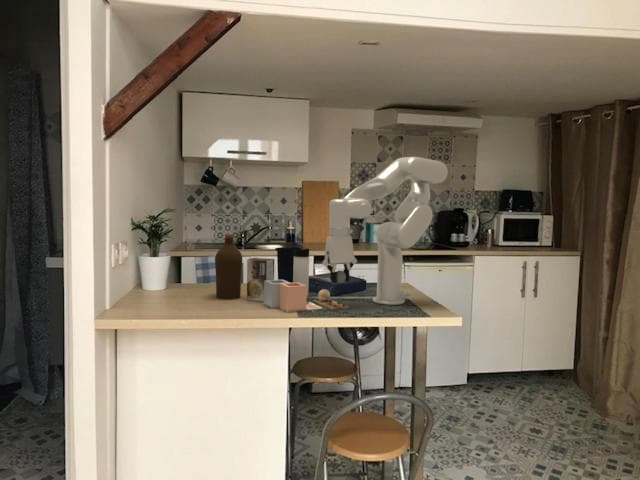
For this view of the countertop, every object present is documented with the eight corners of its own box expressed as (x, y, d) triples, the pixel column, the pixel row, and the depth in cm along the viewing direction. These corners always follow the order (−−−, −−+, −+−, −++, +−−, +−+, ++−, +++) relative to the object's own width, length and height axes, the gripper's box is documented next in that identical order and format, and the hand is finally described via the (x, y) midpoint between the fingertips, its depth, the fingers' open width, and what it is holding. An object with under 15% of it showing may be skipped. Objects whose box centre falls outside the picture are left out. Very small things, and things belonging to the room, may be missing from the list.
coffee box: (274, 299, 198) (275, 258, 196) (266, 302, 192) (266, 260, 191) (254, 297, 202) (255, 257, 200) (245, 299, 196) (246, 258, 194)
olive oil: (231, 300, 193) (231, 236, 191) (209, 297, 198) (209, 234, 196) (247, 296, 202) (248, 234, 200) (225, 293, 207) (226, 232, 205)
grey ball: (342, 281, 190) (342, 269, 190) (348, 283, 186) (348, 270, 186) (331, 282, 188) (331, 270, 188) (337, 284, 184) (337, 272, 184)
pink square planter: (297, 306, 187) (298, 282, 186) (306, 310, 180) (306, 285, 179) (279, 307, 183) (279, 283, 183) (287, 312, 177) (287, 286, 176)
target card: (310, 303, 193) (310, 299, 193) (322, 309, 184) (322, 304, 184) (295, 305, 190) (295, 300, 190) (307, 310, 181) (307, 305, 181)
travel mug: (302, 299, 199) (303, 249, 198) (289, 297, 203) (290, 247, 201) (311, 297, 204) (313, 248, 202) (299, 295, 208) (300, 246, 206)
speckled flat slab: (328, 300, 199) (328, 296, 199) (348, 308, 186) (348, 304, 186) (312, 301, 196) (313, 297, 196) (332, 309, 183) (332, 306, 182)
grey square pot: (282, 302, 192) (282, 279, 191) (290, 306, 186) (290, 282, 185) (263, 304, 189) (264, 280, 188) (271, 308, 182) (271, 283, 181)
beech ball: (326, 299, 198) (326, 288, 197) (332, 301, 193) (332, 290, 193) (315, 300, 195) (316, 288, 195) (321, 302, 191) (321, 290, 191)
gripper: (354, 230, 192) (354, 278, 194) (314, 233, 185) (315, 282, 187) (364, 232, 186) (364, 281, 188) (324, 234, 178) (324, 285, 180)
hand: (339, 281), depth 187 cm, fingers closed on grey ball, 4 cm apart
